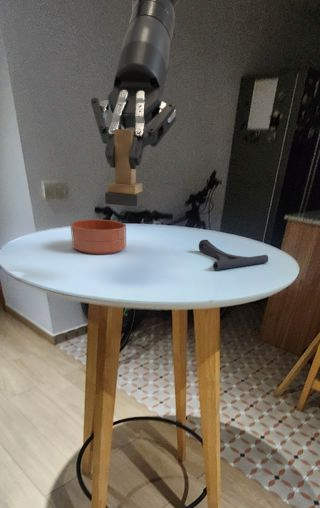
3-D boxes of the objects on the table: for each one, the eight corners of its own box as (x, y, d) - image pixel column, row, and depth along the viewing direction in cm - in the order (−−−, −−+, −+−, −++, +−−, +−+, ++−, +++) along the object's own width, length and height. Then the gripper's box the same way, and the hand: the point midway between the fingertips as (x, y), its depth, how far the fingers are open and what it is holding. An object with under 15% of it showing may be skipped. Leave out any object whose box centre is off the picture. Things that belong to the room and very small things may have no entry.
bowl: (64, 251, 80) (61, 227, 77) (84, 240, 90) (82, 217, 87) (117, 257, 79) (116, 232, 76) (132, 245, 88) (132, 222, 85)
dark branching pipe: (223, 248, 90) (224, 236, 88) (267, 263, 80) (270, 250, 78) (175, 254, 83) (176, 241, 82) (217, 272, 73) (219, 257, 72)
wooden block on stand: (105, 204, 58) (102, 128, 52) (115, 200, 62) (113, 129, 56) (137, 206, 57) (137, 130, 51) (145, 202, 61) (146, 131, 55)
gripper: (93, 37, 54) (68, 139, 52) (186, 39, 52) (164, 145, 50) (106, 89, 61) (85, 180, 59) (188, 92, 60) (169, 186, 57)
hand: (121, 163), depth 55 cm, fingers closed on wooden block on stand, 2 cm apart
